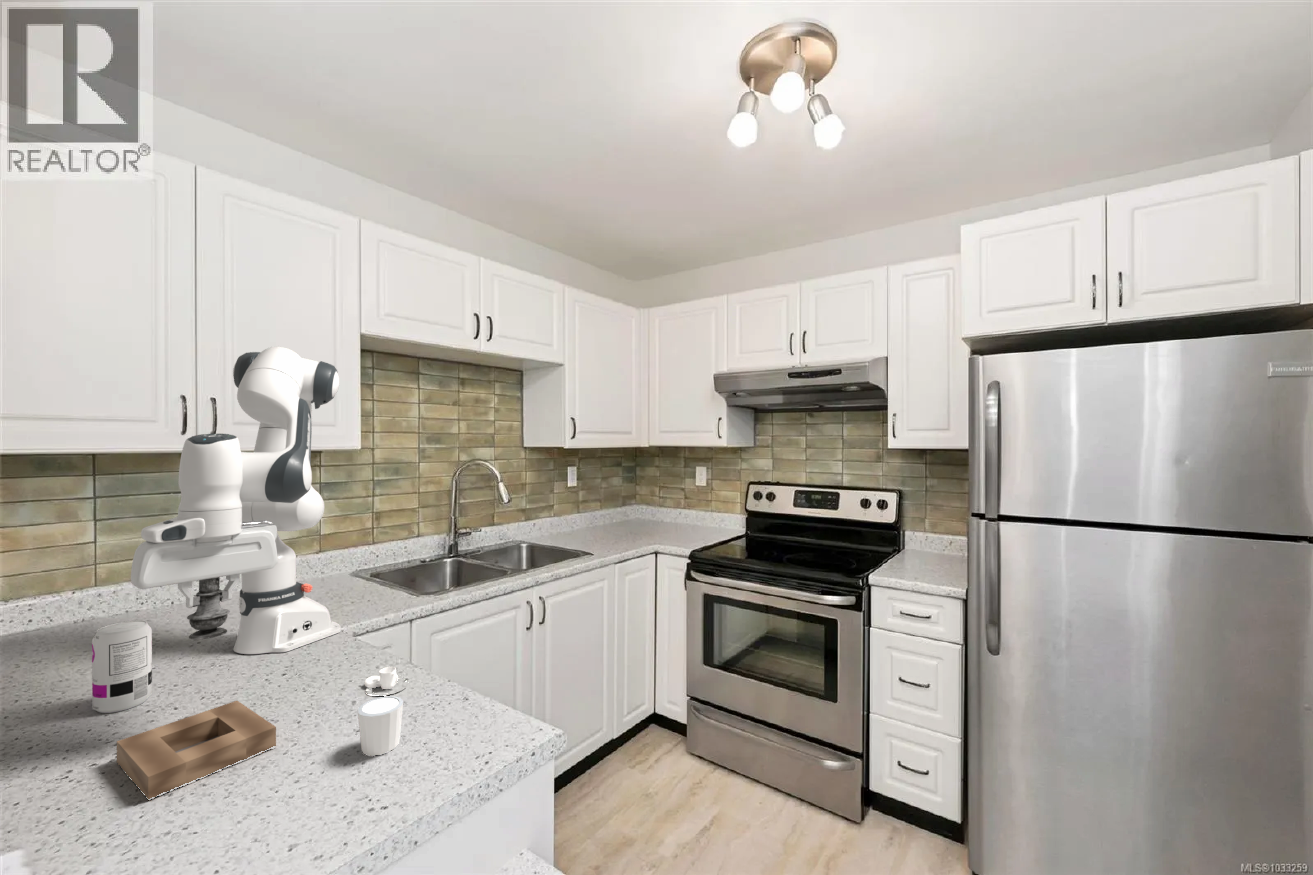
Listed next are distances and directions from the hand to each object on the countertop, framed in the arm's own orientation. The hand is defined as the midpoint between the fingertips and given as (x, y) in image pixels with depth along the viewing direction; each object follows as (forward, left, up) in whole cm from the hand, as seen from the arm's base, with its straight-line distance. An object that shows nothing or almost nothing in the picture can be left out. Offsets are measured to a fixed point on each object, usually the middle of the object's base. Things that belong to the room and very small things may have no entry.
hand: (209, 603), depth 97 cm
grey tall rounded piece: (0, 0, -6) cm, 6 cm away
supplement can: (+6, -25, -22) cm, 34 cm away
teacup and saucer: (-28, +9, -23) cm, 38 cm away
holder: (+4, +8, -22) cm, 24 cm away
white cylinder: (-14, +30, -22) cm, 40 cm away
